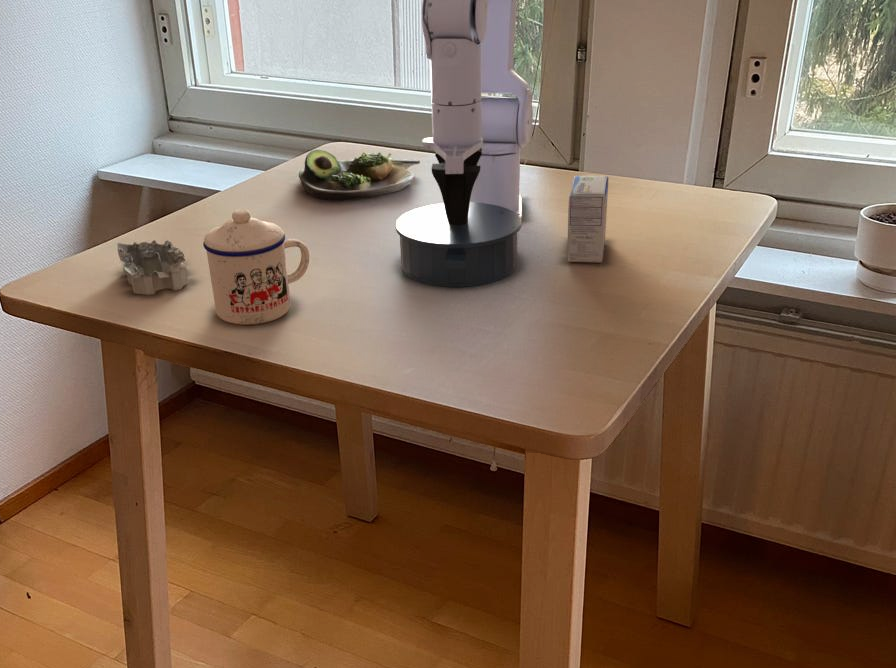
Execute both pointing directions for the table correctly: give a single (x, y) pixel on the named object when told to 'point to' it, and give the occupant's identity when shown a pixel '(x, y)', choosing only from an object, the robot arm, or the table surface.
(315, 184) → the salad plate
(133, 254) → the egg carton
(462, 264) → the pot
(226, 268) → the teacup with lid
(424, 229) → the pot lid
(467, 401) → the table surface
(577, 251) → the medicine box
